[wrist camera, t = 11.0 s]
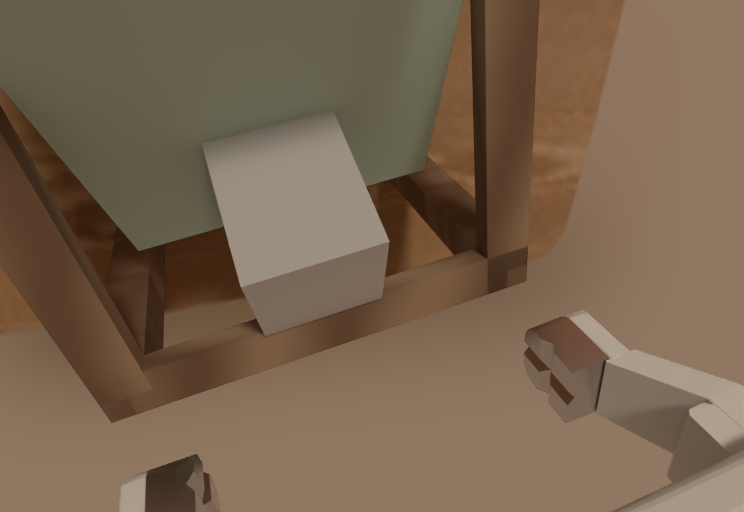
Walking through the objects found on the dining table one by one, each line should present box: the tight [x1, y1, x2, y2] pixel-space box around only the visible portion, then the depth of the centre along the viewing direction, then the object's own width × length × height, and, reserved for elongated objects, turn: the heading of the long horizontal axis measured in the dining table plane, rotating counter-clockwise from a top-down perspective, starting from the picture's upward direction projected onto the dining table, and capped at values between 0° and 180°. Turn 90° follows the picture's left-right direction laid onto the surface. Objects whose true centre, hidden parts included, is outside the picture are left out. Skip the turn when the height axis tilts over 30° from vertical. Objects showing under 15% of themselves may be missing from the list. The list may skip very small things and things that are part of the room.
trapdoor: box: [0, 0, 462, 251], centre depth 15 cm, size 14×21×6 cm
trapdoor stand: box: [0, 0, 539, 423], centre depth 21 cm, size 19×19×16 cm
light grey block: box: [201, 110, 390, 336], centre depth 20 cm, size 5×5×6 cm
